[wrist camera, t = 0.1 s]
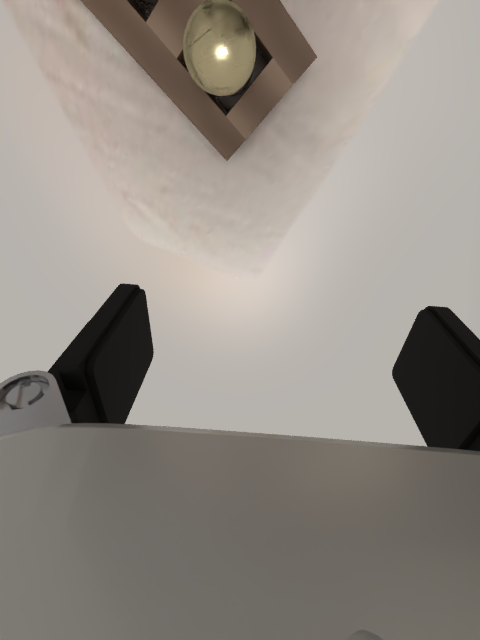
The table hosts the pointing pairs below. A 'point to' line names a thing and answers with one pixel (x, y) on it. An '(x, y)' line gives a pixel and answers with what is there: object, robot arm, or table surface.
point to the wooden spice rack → (174, 78)
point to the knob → (219, 47)
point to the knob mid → (149, 1)
